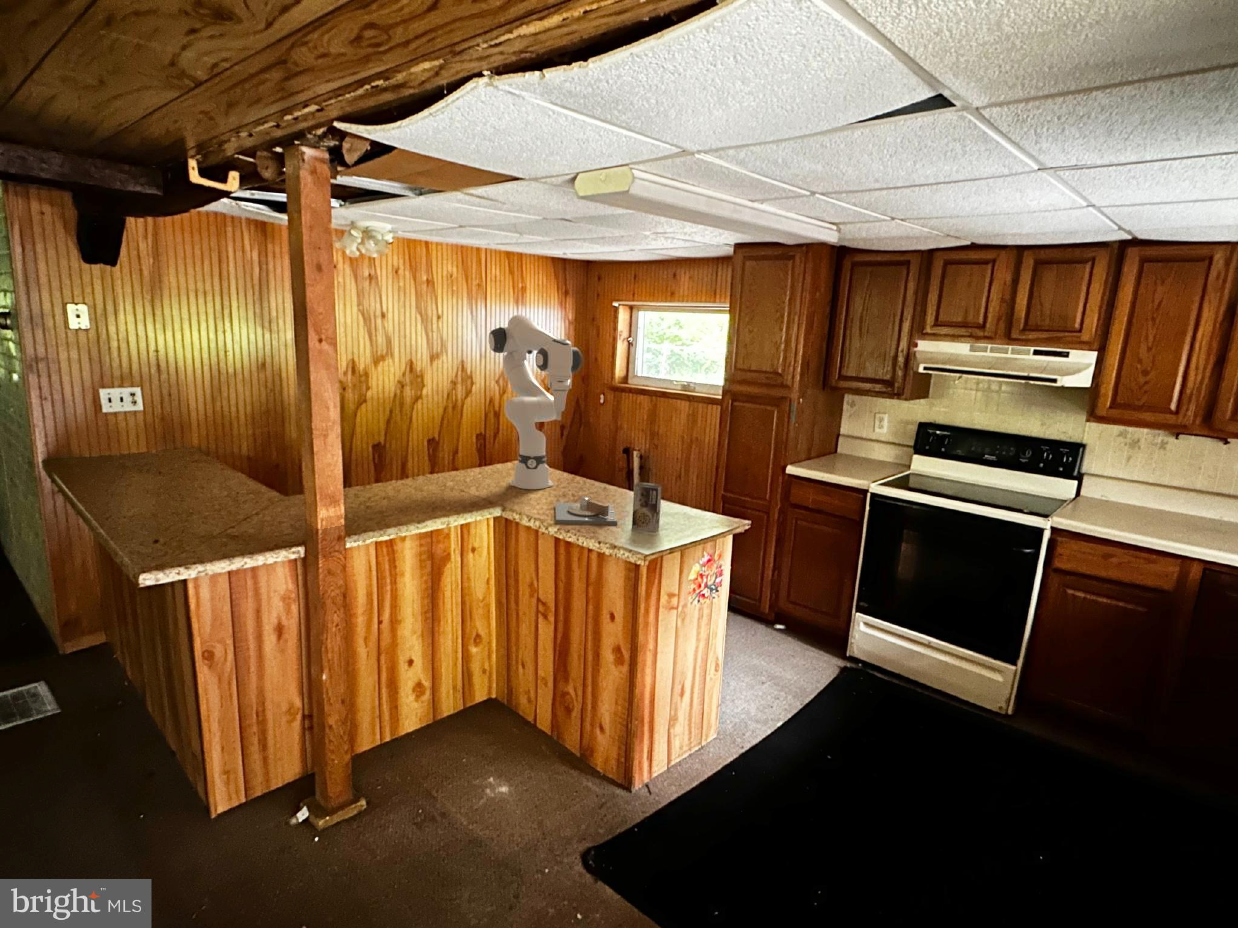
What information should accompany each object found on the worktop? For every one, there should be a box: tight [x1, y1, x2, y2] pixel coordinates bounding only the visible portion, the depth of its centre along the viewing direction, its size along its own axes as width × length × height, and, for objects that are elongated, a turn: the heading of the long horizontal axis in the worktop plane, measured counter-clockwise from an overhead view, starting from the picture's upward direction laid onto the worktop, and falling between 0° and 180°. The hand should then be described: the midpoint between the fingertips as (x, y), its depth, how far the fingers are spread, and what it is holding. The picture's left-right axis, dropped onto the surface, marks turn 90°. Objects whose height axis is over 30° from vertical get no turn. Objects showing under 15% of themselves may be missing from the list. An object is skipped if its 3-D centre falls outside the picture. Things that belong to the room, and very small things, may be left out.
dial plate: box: [554, 502, 618, 526], centre depth 246 cm, size 22×22×2 cm
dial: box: [568, 496, 609, 517], centre depth 244 cm, size 18×13×5 cm
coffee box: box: [631, 481, 663, 533], centre depth 233 cm, size 9×6×16 cm
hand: (558, 419), depth 249 cm, fingers closed
